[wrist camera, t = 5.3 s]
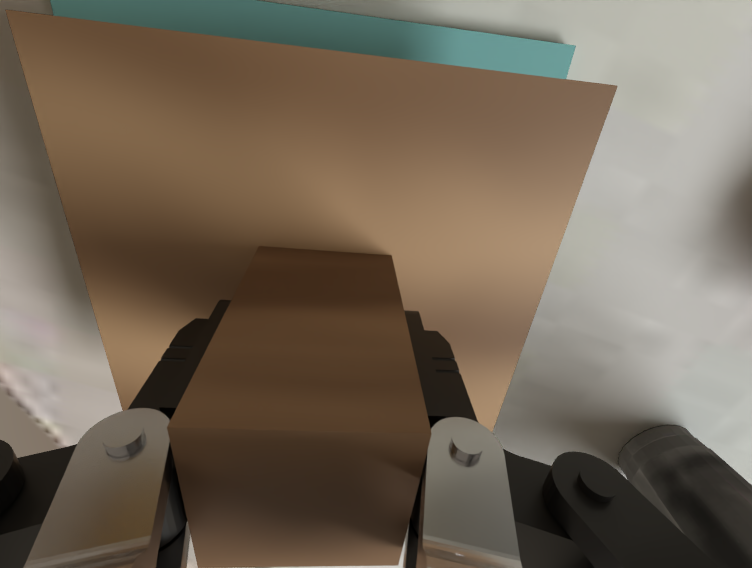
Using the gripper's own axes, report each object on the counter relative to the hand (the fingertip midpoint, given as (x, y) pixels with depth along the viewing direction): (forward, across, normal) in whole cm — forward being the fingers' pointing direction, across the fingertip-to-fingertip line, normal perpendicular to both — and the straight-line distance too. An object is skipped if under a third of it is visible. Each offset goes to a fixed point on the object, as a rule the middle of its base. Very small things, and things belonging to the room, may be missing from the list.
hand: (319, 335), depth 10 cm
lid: (+2, 0, 0) cm, 2 cm away
